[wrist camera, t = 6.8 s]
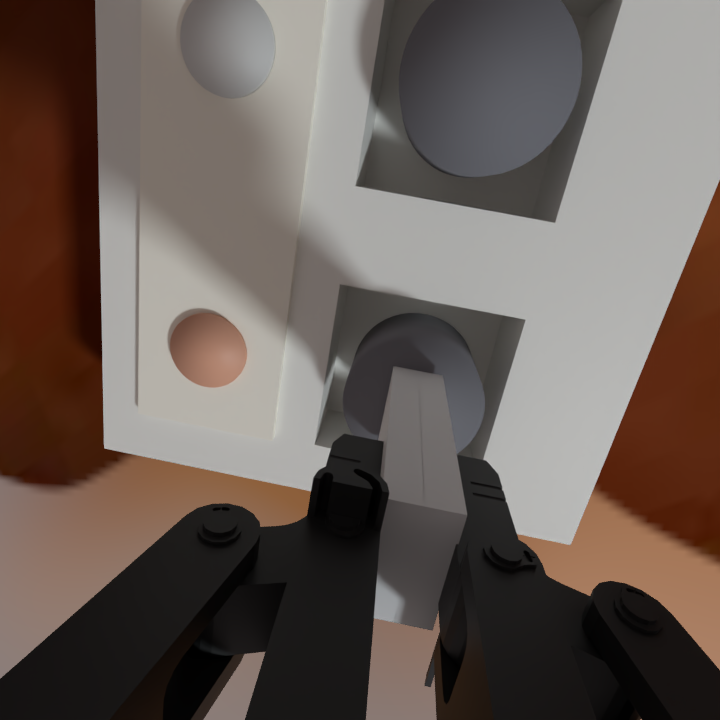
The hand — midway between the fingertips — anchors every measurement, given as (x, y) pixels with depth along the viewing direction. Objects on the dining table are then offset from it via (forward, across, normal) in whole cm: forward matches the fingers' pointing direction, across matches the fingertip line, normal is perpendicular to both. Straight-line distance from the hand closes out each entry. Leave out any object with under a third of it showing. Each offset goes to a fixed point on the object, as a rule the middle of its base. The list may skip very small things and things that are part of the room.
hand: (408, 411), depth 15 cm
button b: (+3, 0, +9) cm, 10 cm away
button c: (+3, 0, 0) cm, 3 cm away
